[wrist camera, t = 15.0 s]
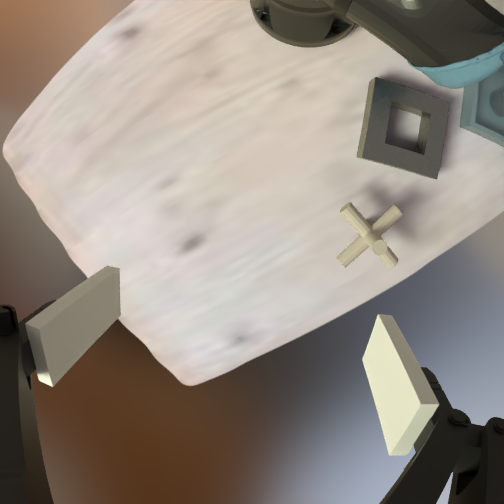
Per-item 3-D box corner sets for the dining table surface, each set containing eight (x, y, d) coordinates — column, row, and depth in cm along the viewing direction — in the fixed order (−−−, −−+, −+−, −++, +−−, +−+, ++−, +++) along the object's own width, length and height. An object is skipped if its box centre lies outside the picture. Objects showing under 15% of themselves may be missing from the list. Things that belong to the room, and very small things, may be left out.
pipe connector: (364, 177, 42) (384, 184, 32) (407, 229, 43) (434, 249, 34) (312, 225, 45) (318, 245, 35) (357, 274, 46) (372, 304, 37)
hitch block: (369, 82, 38) (375, 77, 34) (439, 105, 37) (449, 102, 34) (356, 157, 41) (361, 157, 38) (427, 177, 41) (436, 179, 37)
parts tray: (466, 51, 33) (475, 46, 30) (524, 83, 33) (535, 81, 30) (459, 126, 38) (470, 125, 34) (518, 154, 37) (530, 155, 34)
